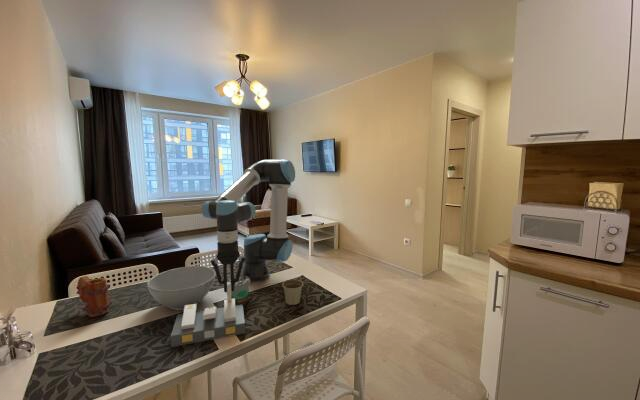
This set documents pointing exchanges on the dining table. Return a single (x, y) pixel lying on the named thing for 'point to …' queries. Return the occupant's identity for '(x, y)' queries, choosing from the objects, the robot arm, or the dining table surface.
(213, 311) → the rocker
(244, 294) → the food container
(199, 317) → the switch unit
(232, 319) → the block
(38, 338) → the dining table surface
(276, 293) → the dining table surface
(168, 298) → the decorative bowl
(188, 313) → the block
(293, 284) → the flower pot
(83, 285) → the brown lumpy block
